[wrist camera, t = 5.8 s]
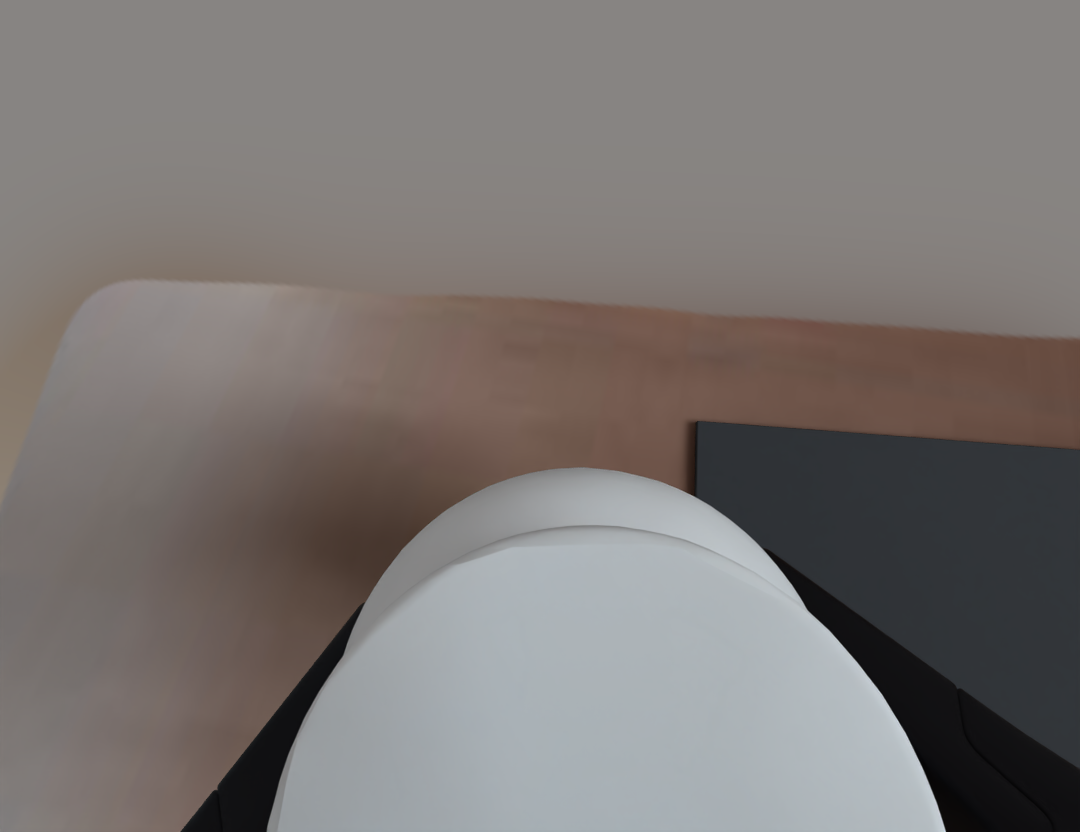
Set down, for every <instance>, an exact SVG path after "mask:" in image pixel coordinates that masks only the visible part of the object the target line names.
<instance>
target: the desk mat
mask: <svg viewBox="0 0 1080 832" xmlns="http://www.w3.org/2000/svg"><path fill="white" fill-rule="evenodd" d="M695 497H696V498H698V499H699V500H701V501H703V502H705V503H706V504H708V505H710V506H711V507H713V508H714V509H716V510H717V511H718V512H720V513H721V514H723V515H724V516H725V517H727V518H728V519H730V520H731V521H732V522H733V523H735V524H736V525H737V526H738V527H739V528H741V529H742V530H743V531H744V532H745V533H747V534H748V535H749V536H750V537H751V538H752V539H753V540H754V541H755V542H756V543H757V544H758V545H759V546H760V547H761V548H766V549H769V550H770V551H772V552H773V553H774V554H776V555H777V556H779V557H780V558H781V559H783V560H784V561H785V562H787V563H788V564H790V565H791V566H792V567H794V568H795V569H797V570H798V571H799V572H801V573H802V574H803V575H805V576H806V577H808V578H809V579H810V580H812V581H813V582H815V583H816V584H817V585H819V586H820V587H821V588H823V589H824V590H826V591H827V592H828V593H830V594H831V595H833V596H834V597H835V598H837V599H838V600H839V601H841V602H842V603H844V604H845V605H846V606H848V607H849V608H851V609H852V610H853V611H855V612H856V613H857V614H859V615H860V616H862V617H863V618H864V619H866V620H867V621H869V622H870V623H871V624H873V625H874V626H875V627H877V628H878V629H880V630H881V631H882V632H884V633H885V634H887V635H888V636H889V637H891V638H892V639H893V640H895V641H896V642H898V643H899V644H900V645H902V646H903V647H905V648H906V649H907V650H909V651H910V652H911V653H913V654H914V655H916V656H917V657H918V658H920V659H921V660H923V661H924V662H925V663H927V664H928V665H929V666H931V667H932V668H934V669H935V670H936V671H938V672H939V673H941V674H942V675H943V676H945V677H946V678H947V679H949V680H950V681H952V682H953V683H954V684H955V685H956V687H957V689H958V688H961V689H963V690H964V691H966V692H967V693H968V694H970V695H971V696H973V697H974V698H975V699H977V700H978V701H980V702H981V703H982V704H984V705H985V706H986V707H988V708H989V709H991V710H992V711H994V712H995V713H997V714H998V715H999V716H1001V717H1002V718H1004V719H1005V720H1007V721H1008V722H1009V723H1011V724H1012V725H1014V726H1015V727H1017V728H1018V729H1020V730H1021V731H1022V732H1024V733H1025V734H1027V735H1028V736H1030V737H1031V738H1033V739H1034V740H1036V741H1037V742H1039V743H1041V744H1042V745H1044V746H1045V747H1047V748H1048V749H1050V750H1051V751H1053V752H1054V753H1056V754H1057V755H1059V756H1061V757H1062V758H1064V759H1065V760H1067V761H1068V762H1070V763H1071V764H1073V765H1074V766H1076V767H1078V768H1079V769H1080V450H1074V449H1061V448H1048V447H1034V446H1021V445H1008V444H995V443H981V442H968V441H955V440H942V439H928V438H915V437H902V436H889V435H875V434H862V433H849V432H835V431H822V430H809V429H796V428H782V427H769V426H756V425H743V424H729V423H716V422H703V421H697V422H696V441H695Z"/></svg>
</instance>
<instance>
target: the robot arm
mask: <svg viewBox="0 0 1080 832" xmlns="http://www.w3.org/2000/svg"><path fill="white" fill-rule="evenodd" d="M762 549H763V550H764V551H765V552H766V553H767V555H768V556H769V557H770V558H771V559H772V561H773V562H774V563H775V564H776V565H777V566H778V568H779V569H780V570H781V571H782V573H783V574H784V575H785V577H786V578H787V579H788V581H789V582H790V583H791V584H792V586H793V588H794V589H795V591H796V592H797V594H798V595H799V597H800V598H801V600H802V602H803V603H804V605H805V607H806V609H807V610H808V611H809V612H810V613H811V614H812V615H813V616H814V617H815V618H816V619H817V620H818V621H819V622H820V623H822V624H823V625H824V626H825V627H826V628H827V629H828V630H829V631H830V632H831V633H832V634H833V635H834V637H835V638H836V639H837V640H838V641H839V642H840V643H841V645H842V646H843V647H844V648H845V649H846V650H847V651H848V652H849V654H850V655H851V656H852V657H853V658H854V659H855V660H856V662H857V663H858V664H859V665H860V667H861V668H862V669H863V671H864V672H865V673H866V675H867V676H868V677H869V678H870V680H871V681H872V682H873V684H874V685H875V686H876V688H877V689H878V690H879V691H880V693H881V694H882V695H883V697H884V699H885V700H886V702H887V704H888V705H889V707H890V709H891V710H892V712H893V714H894V715H895V717H896V718H897V720H898V722H899V723H900V725H901V727H902V728H903V730H904V732H905V733H906V735H907V737H908V739H909V741H910V743H911V745H912V748H913V750H914V752H915V754H916V756H917V758H918V760H919V762H920V764H921V766H922V768H923V771H924V773H925V775H926V778H927V780H928V783H929V785H930V788H931V790H932V793H933V795H934V798H935V800H936V803H937V805H938V809H939V812H940V815H941V818H942V821H943V824H944V827H945V831H946V832H1080V769H1079V768H1078V767H1076V766H1074V765H1073V764H1071V763H1070V762H1068V761H1067V760H1065V759H1064V758H1062V757H1061V756H1059V755H1057V754H1056V753H1054V752H1053V751H1051V750H1050V749H1048V748H1047V747H1045V746H1044V745H1042V744H1041V743H1039V742H1037V741H1036V740H1034V739H1033V738H1031V737H1030V736H1028V735H1027V734H1025V733H1024V732H1022V731H1021V730H1020V729H1018V728H1017V727H1015V726H1014V725H1012V724H1011V723H1009V722H1008V721H1007V720H1005V719H1004V718H1002V717H1001V716H999V715H998V714H997V713H995V712H994V711H992V710H991V709H989V708H988V707H986V706H985V705H984V704H982V703H981V702H980V701H978V700H977V699H975V698H974V697H973V696H971V695H970V694H968V693H967V692H966V691H964V690H963V689H961V688H958V689H957V687H956V685H955V684H954V683H953V682H952V681H950V680H949V679H947V678H946V677H945V676H943V675H942V674H941V673H939V672H938V671H936V670H935V669H934V668H932V667H931V666H929V665H928V664H927V663H925V662H924V661H923V660H921V659H920V658H918V657H917V656H916V655H914V654H913V653H911V652H910V651H909V650H907V649H906V648H905V647H903V646H902V645H900V644H899V643H898V642H896V641H895V640H893V639H892V638H891V637H889V636H888V635H887V634H885V633H884V632H882V631H881V630H880V629H878V628H877V627H875V626H874V625H873V624H871V623H870V622H869V621H867V620H866V619H864V618H863V617H862V616H860V615H859V614H857V613H856V612H855V611H853V610H852V609H851V608H849V607H848V606H846V605H845V604H844V603H842V602H841V601H839V600H838V599H837V598H835V597H834V596H833V595H831V594H830V593H828V592H827V591H826V590H824V589H823V588H821V587H820V586H819V585H817V584H816V583H815V582H813V581H812V580H810V579H809V578H808V577H806V576H805V575H803V574H802V573H801V572H799V571H798V570H797V569H795V568H794V567H792V566H791V565H790V564H788V563H787V562H785V561H784V560H783V559H781V558H780V557H779V556H777V555H776V554H774V553H773V552H772V551H770V550H769V549H766V548H762ZM365 603H366V602H364V603H362V604H361V605H360V606H359V607H358V608H357V610H356V611H355V612H354V614H353V615H352V616H351V617H350V619H349V620H348V621H347V622H346V624H345V625H344V626H343V627H342V629H341V630H340V631H339V632H338V634H337V635H336V636H335V638H334V639H333V640H332V641H331V643H330V644H329V645H328V646H327V648H326V649H325V650H324V651H323V653H322V654H321V655H320V657H319V658H318V659H317V660H316V662H315V663H314V664H313V665H312V667H311V668H310V669H309V670H308V672H307V673H306V674H305V676H304V677H303V678H302V679H301V681H300V682H299V683H298V684H297V686H296V687H295V688H294V689H293V691H292V692H291V693H290V695H289V696H288V697H287V698H286V700H285V701H284V702H283V703H282V705H281V706H280V707H279V708H278V710H277V711H276V712H275V714H274V715H273V716H272V717H271V719H270V720H269V721H268V722H267V724H266V725H265V726H264V727H263V729H262V730H261V731H260V733H259V734H258V735H257V736H256V738H255V739H254V740H253V741H252V743H251V744H250V745H249V746H248V748H247V749H246V750H245V752H244V753H243V754H242V755H241V757H240V758H239V759H238V760H237V762H236V763H235V764H234V765H233V767H232V768H231V769H230V770H229V772H228V773H227V774H226V776H225V777H224V778H223V779H222V781H221V782H220V783H219V784H218V787H217V789H218V790H214V791H213V792H212V793H211V794H210V796H209V797H208V798H207V799H206V801H205V802H204V803H203V804H202V806H201V807H200V808H199V809H198V811H197V812H196V813H195V815H194V816H193V817H192V818H191V819H190V821H189V822H188V823H187V824H186V826H185V827H184V828H183V829H182V830H181V832H267V827H268V822H269V819H270V815H271V812H272V808H273V804H274V801H275V797H276V793H277V789H278V785H279V781H280V778H281V775H282V772H283V769H284V766H285V763H286V760H287V757H288V755H289V752H290V750H291V747H292V745H293V743H294V741H295V738H296V736H297V734H298V732H299V729H300V727H301V725H302V722H303V720H304V718H305V716H306V714H307V712H308V711H309V709H310V707H311V705H312V703H313V702H314V700H315V698H316V696H317V694H318V693H319V691H320V690H321V688H322V686H323V685H324V683H325V682H326V680H327V679H328V677H329V676H330V674H331V673H332V671H333V670H334V668H335V667H336V665H337V664H338V662H339V661H340V660H341V658H342V657H343V655H344V652H345V649H346V646H347V643H348V641H349V638H350V635H351V633H352V630H353V628H354V625H355V623H356V621H357V619H358V617H359V615H360V613H361V610H362V608H363V606H364V604H365Z"/></svg>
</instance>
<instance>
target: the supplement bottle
mask: <svg viewBox="0 0 1080 832" xmlns="http://www.w3.org/2000/svg"><path fill="white" fill-rule="evenodd" d="M267 832H946V831H945V827H944V824H943V821H942V818H941V815H940V812H939V809H938V805H937V803H936V800H935V798H934V795H933V793H932V790H931V788H930V785H929V783H928V780H927V778H926V775H925V773H924V771H923V768H922V766H921V764H920V762H919V760H918V758H917V756H916V754H915V752H914V750H913V748H912V745H911V743H910V741H909V739H908V737H907V735H906V733H905V732H904V730H903V728H902V727H901V725H900V723H899V722H898V720H897V718H896V717H895V715H894V714H893V712H892V710H891V709H890V707H889V705H888V704H887V702H886V700H885V699H884V697H883V695H882V694H881V693H880V691H879V690H878V689H877V688H876V686H875V685H874V684H873V682H872V681H871V680H870V678H869V677H868V676H867V675H866V673H865V672H864V671H863V669H862V668H861V667H860V665H859V664H858V663H857V662H856V660H855V659H854V658H853V657H852V656H851V655H850V654H849V652H848V651H847V650H846V649H845V648H844V647H843V646H842V645H841V643H840V642H839V641H838V640H837V639H836V638H835V637H834V635H833V634H832V633H831V632H830V631H829V630H828V629H827V628H826V627H825V626H824V625H823V624H822V623H820V622H819V621H818V620H817V619H816V618H815V617H814V616H813V615H812V614H811V613H810V612H809V611H808V610H807V609H806V607H805V605H804V603H803V602H802V600H801V598H800V597H799V595H798V594H797V592H796V591H795V589H794V588H793V586H792V584H791V583H790V582H789V581H788V579H787V578H786V577H785V575H784V574H783V573H782V571H781V570H780V569H779V568H778V566H777V565H776V564H775V563H774V562H773V561H772V559H771V558H770V557H769V556H768V555H767V553H766V552H765V551H764V550H763V549H762V548H761V547H760V546H759V545H758V544H757V543H756V542H755V541H754V540H753V539H752V538H751V537H750V536H749V535H748V534H747V533H745V532H744V531H743V530H742V529H741V528H739V527H738V526H737V525H736V524H735V523H733V522H732V521H731V520H730V519H728V518H727V517H725V516H724V515H723V514H721V513H720V512H718V511H717V510H716V509H714V508H713V507H711V506H710V505H708V504H706V503H705V502H703V501H701V500H699V499H698V498H696V497H694V496H692V495H690V494H688V493H686V492H684V491H681V490H679V489H677V488H675V487H672V486H670V485H667V484H665V483H662V482H660V481H656V480H652V479H649V478H645V477H642V476H637V475H633V474H629V473H625V472H620V471H612V470H604V469H594V468H583V467H581V468H563V469H551V470H545V471H539V472H534V473H528V474H525V475H521V476H517V477H514V478H511V479H508V480H504V481H501V482H499V483H496V484H493V485H491V486H488V487H486V488H484V489H482V490H480V491H478V492H476V493H474V494H472V495H471V496H469V497H467V498H465V499H464V500H462V501H460V502H458V503H457V504H455V505H454V506H452V507H451V508H449V509H447V510H446V511H444V512H443V513H442V514H441V515H439V516H438V517H437V518H436V519H434V520H433V521H432V522H430V523H429V524H428V525H427V526H426V527H425V528H424V529H423V530H421V531H420V532H419V533H418V534H417V535H416V536H415V537H414V538H413V539H412V540H411V541H410V542H409V543H408V544H407V545H406V546H405V547H404V548H403V549H402V550H401V552H400V553H399V554H398V556H397V557H396V558H395V559H394V561H393V562H392V563H391V565H390V566H389V567H388V569H387V570H386V571H385V572H384V574H383V575H382V577H381V578H380V580H379V581H378V583H377V584H376V586H375V587H374V589H373V591H372V592H371V594H370V596H369V598H368V599H367V601H366V603H365V604H364V606H363V608H362V610H361V613H360V615H359V617H358V619H357V621H356V623H355V625H354V628H353V630H352V633H351V635H350V638H349V641H348V643H347V646H346V649H345V652H344V655H343V657H342V658H341V660H340V661H339V662H338V664H337V665H336V667H335V668H334V670H333V671H332V673H331V674H330V676H329V677H328V679H327V680H326V682H325V683H324V685H323V686H322V688H321V690H320V691H319V693H318V694H317V696H316V698H315V700H314V702H313V703H312V705H311V707H310V709H309V711H308V712H307V714H306V716H305V718H304V720H303V722H302V725H301V727H300V729H299V732H298V734H297V736H296V738H295V741H294V743H293V745H292V747H291V750H290V752H289V755H288V757H287V760H286V763H285V766H284V769H283V772H282V775H281V778H280V781H279V785H278V789H277V793H276V797H275V801H274V804H273V808H272V812H271V815H270V819H269V822H268V827H267Z"/></svg>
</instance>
